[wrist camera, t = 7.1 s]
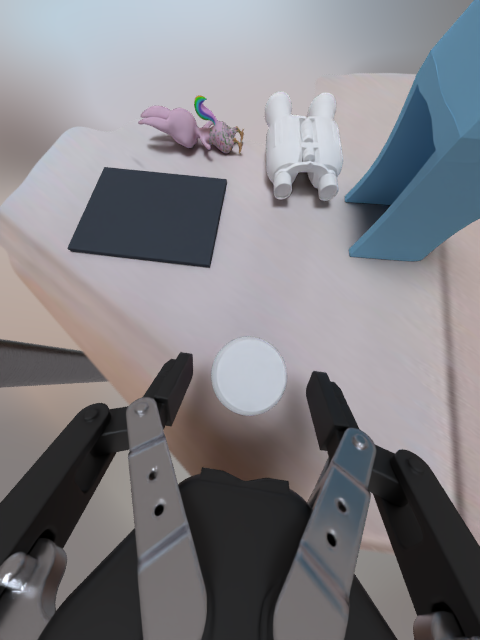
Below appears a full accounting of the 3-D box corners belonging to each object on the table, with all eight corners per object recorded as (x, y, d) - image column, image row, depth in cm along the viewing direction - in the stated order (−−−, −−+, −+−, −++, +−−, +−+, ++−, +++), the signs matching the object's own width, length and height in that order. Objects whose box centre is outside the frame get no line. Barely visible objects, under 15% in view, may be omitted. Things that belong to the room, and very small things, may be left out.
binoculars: (327, 129, 30) (342, 87, 26) (338, 208, 26) (358, 173, 21) (263, 128, 30) (267, 85, 26) (262, 205, 26) (267, 170, 21)
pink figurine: (242, 144, 31) (148, 119, 29) (249, 94, 26) (133, 59, 24) (238, 172, 29) (138, 147, 27) (245, 125, 24) (120, 89, 22)
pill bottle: (218, 351, 20) (199, 332, 11) (266, 345, 21) (289, 321, 11) (222, 404, 19) (206, 435, 10) (275, 397, 19) (309, 420, 10)
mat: (71, 251, 24) (67, 248, 23) (107, 171, 28) (104, 166, 27) (209, 267, 23) (209, 264, 23) (226, 183, 27) (226, 179, 27)
